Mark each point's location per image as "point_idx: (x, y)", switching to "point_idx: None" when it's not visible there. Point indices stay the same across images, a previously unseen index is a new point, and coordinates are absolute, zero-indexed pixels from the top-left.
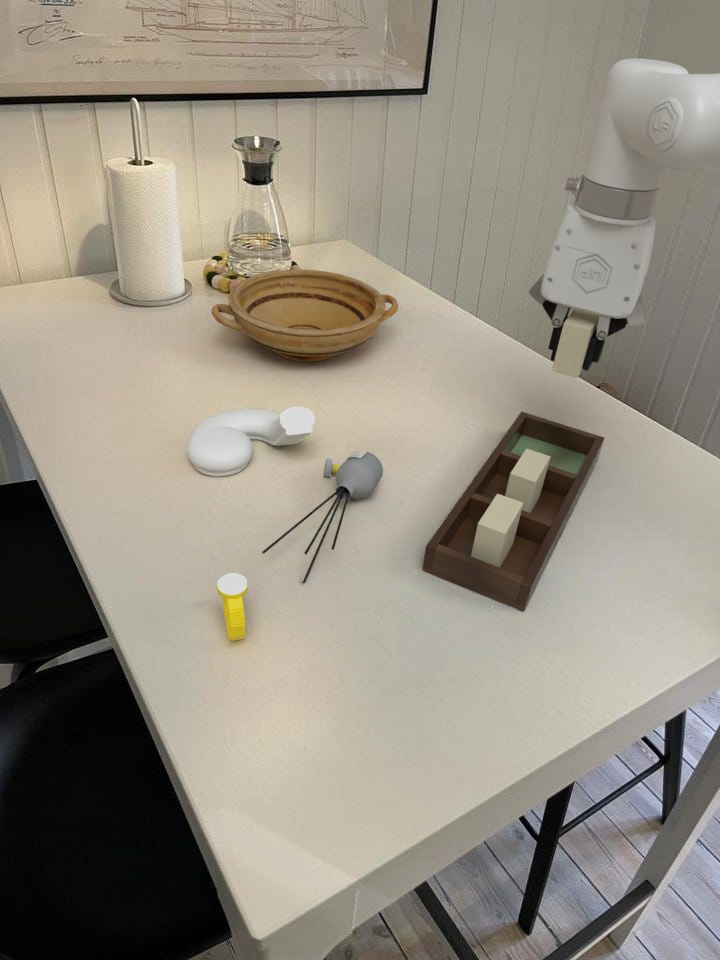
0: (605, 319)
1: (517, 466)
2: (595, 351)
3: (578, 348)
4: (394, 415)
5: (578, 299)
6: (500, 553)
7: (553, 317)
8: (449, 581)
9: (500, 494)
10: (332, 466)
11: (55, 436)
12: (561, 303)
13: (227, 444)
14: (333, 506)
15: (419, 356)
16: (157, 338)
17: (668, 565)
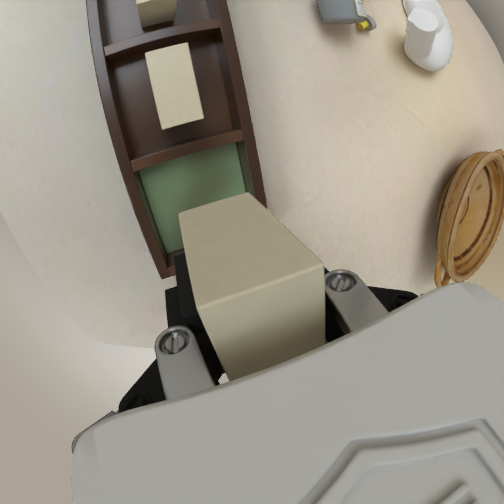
0: (185, 393)
1: (187, 63)
2: (179, 303)
3: (209, 245)
4: (374, 156)
5: (363, 378)
6: None
7: (362, 285)
8: None
9: (203, 92)
10: (366, 21)
11: (467, 10)
12: (404, 307)
13: (427, 4)
14: None
15: (391, 266)
16: (495, 139)
17: (12, 158)
